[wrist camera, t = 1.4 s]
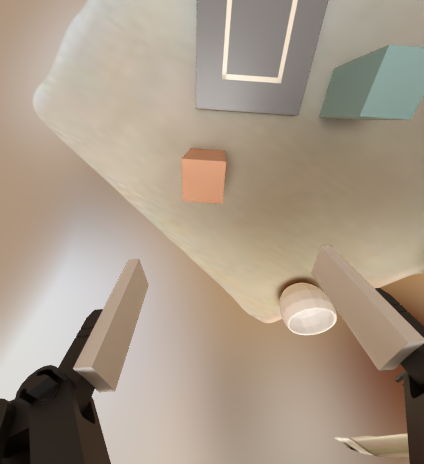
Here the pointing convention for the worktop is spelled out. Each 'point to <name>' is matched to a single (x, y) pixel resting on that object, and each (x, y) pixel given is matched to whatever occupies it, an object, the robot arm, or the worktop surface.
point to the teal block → (377, 86)
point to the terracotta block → (203, 175)
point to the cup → (306, 309)
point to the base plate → (255, 53)
